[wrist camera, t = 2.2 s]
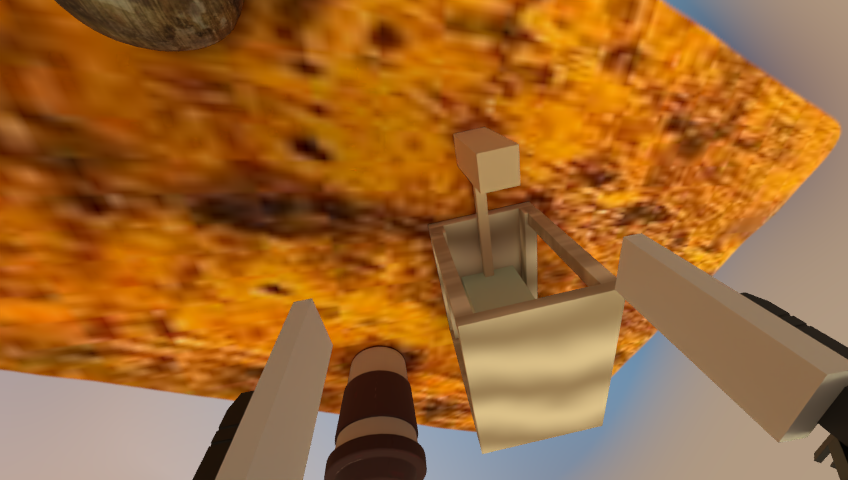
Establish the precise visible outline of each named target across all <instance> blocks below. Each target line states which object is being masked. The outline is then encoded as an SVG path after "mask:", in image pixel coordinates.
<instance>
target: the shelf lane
mask: <svg viewBox="0 0 848 480" xmlns="http://www.w3.org/2000/svg"><path fill="white" fill-rule="evenodd" d="M488 217H489V227H490V238H491V248H492V258H493V268H494V270H495V269H499V268H503V267H508V266H512V265H513V267H514V268H515V270H516V271H517V273H518V274H519V275H520V277H521V278H522V280H523V281H524V283H525V284H526V286H527V287H528V289H529V290H530V292H531V293H532V295H533V296H534V298H535V299H534V300H529V301H525V302H521V303H516V304H512V305H508V306H503V307H499V308H495V309H491V310H486V311H482V312H478V313H473V312H472V309H471V307H470V304H469V301H468V299H467V296H466V293H465V291H464V288H463V283H462V277H464V276H469V275H473V274H477V273H482V272H483V266H482V257H481V249H480V241H479V232H478V224H477V215H476V214H472V215H468V216H463V217H459V218H455V219H450V220H446V221H442V222H437V223H433V224H429V225H428V228H429V233H430V238H431V242H432V247H433V252H434V256H435V261H436V266H437V271H438V275H439V280H440V285H441V289H442V294H443V299H444V304H445V308H446V313H447V318H448V322H449V327H450V332H451V336H452V339H453V343H454V347H455V351H456V355H457V359H458V362H459V366H460V370H461V374H462V378H463V382H464V385H465V389H466V393H467V397H468V401H469V405H470V408H471V412H472V416H473V420H474V424H475V428H476V431H477V435H478V439H479V443H480V447H481V450H482V454H484V453H488V452H493V451H496V450H501V449H506V448H510V447H514V446H518V445H522V444H527V443H530V442H535V441H539V440H544V439H548V438H552V437H556V436H560V435H565V434H569V433H573V432H577V431H582V430H586V429H590V428H594V427H598V426H602V424H603V418H604V413H605V408H606V402H607V397H608V391H609V386H610V380H611V375H612V369H613V364H614V358H615V353H616V347H617V342H618V336H619V330H620V325H621V319H622V314H623V308H624V303H625V299H624V298H623V297H622V296H621V295H620V294H619V293H618V292H617V291H616V290H615V285H616V279H617V278H616V277H615V276H614V275H613V274H612V273H610V272H609V271H608V270H607V269H606V268H605V267H604V266H602V265H601V264H600V263H599V262H598V261H597V260H596V259H594V258H593V257H592V256H591V255H590V254H589V253H588V252H586V251H585V250H584V249H583V248H582V247H581V246H580V245H578V244H577V243H576V242H575V241H574V240H573V239H571V238H570V237H569V236H568V235H567V234H566V233H565V232H563V231H562V230H561V229H560V228H559V227H558V226H557V225H555V224H554V223H553V222H552V221H551V220H550V219H549V218H547V217H546V216H545V215H544V214H543V213H542V212H541V211H539V210H538V209H537V208H536V207H535V206H534V205H532V204H531V203H530V202H524V203H520V204H516V205H511V206H507V207H503V208H498V209H494V210H489V211H488ZM537 234H538V235H539V236H540V237H541V238H542V239H543V240H544V241H545V242H546V243H547V244H548V245H549V246H550V247H551V248H552V249H553V250H554V251H555V252H556V253H557V255H558V256H559V257H560V258H561V259H562V260H563V261H564V262H565V263H566V264H567V265H568V266H569V267H570V268H571V269H572V270H573V271H574V272H575V273H576V274H577V275H578V276H579V277H580V278H581V279H582V280H583V281H584V282H585V283H586V285H587V286H588V287H585V288H581V289H577V290H572V291H568V292H564V293H559V294H555V295H551V296H547V297H542V298H538V299H537Z"/></svg>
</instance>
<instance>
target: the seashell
mask: <svg viewBox="0 0 848 480" xmlns="http://www.w3.org/2000/svg"><path fill="white" fill-rule="evenodd" d="M55 1H56V2H57V3H58V4H59V5H60V6H61V7H63V8H64V9H65V10H66V11H68V12H69V13H70V14H71V15H73V16H74V17H75V18H77V19H78V20H79V21H81V22H82V23H84V24H85V25H87V26H88V27H90V28H92V29H93V30H95V31H97V32H99V33H101V34H103V35H105V36H107V37H110V38H112V39H114V40H116V41H119V42H123V43H126V44H130V45H133V46H136V47H141V48H146V49H152V50H158V51H187V50H196V49H200V48H204V47H207V46H210V45H212V44H214V43H217V42H218V41H220V40H222V39H223V38H225V37H226V36H227V35H228V34H230V32H231V31H232V30H233V29H234V27H235V24H236V22H237V20H238V18H239V16H240V13H241V10H242V6H243V1H244V0H55Z"/></svg>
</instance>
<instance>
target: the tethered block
mask: <svg viewBox="0 0 848 480" xmlns="http://www.w3.org/2000/svg"><path fill="white" fill-rule="evenodd" d="M453 137H454V144H455V151H456V159H457V166H458V167H459V168H460V169H461V171H462V172H463V173H464V174H465V176H466V177H467V178H468V179H469V180H470V182H471V183H472V184H473V190H474V199H475V207H476V215H477V224H478V232H479V241H480V249H481V257H482V266H483V272H482V273H477V274H473V275H469V276H464V277H462V283H463V288H464V291H465V293H466V296H467V299H468V301H469V304H470V307H471V309H472V312H473V313H478V312H482V311H486V310H491V309H495V308H499V307H503V306H508V305H512V304H516V303H521V302H525V301H529V300H534V299H535V298H534V296H533V295H532V293H531V292H530V290H529V289H528V287H527V286H526V284H525V283H524V281H523V280H522V278H521V277H520V275H519V274H518V273H517V271H516V270H515V268H514V267H513V265H512V266H508V267H503V268H499V269H495V270H494V268H493V258H492V248H491V238H490V227H489V217H488V207H487V196H486V193H489V192H493V191H497V190H502V189H506V188H510V187H515V186H519V185H520V163H519V144H517V143H515V142H513V141H511V140H509V139H508V138H506V137H504V136H502V135H500V134H498V133H496V132H494V131H492V130H490V129H488V128H486V127H482V128H477V129H473V130H469V131H464V132H460V133H455V134H453Z"/></svg>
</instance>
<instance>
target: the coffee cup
mask: <svg viewBox="0 0 848 480" xmlns="http://www.w3.org/2000/svg"><path fill="white" fill-rule="evenodd" d="M417 438H418V429H417V422H416V416H415V410H414V404H413V398H412V392H411V387H410V384H409V382H408V377H407V371H406V364H405V360H404V358H403V356H402V355H401V354H400V353H399V352H397V351H396V350H394V349H391V348H388V347H372V348H368V349H366V350H364V351H362V352H360V353H359V354H358V355H357V356H356V357H355V358H354V360H353V361H352V364H351V369H350V374H349V379H348V384H347V386H346V388H345V391H344V395H343V400H342V405H341V410H340V415H339V421H338V426H337V431H336V436H335V445H336V448H335V450H334V451H333V452H332V453H331V454H330V456H329V457H328V460H327V463H326V469H325V476H324V480H423V479H424V477H425V475H426V470H427V468H426V457H425V452H424V450H423V448H422V447H421V445H419V443H418V442H417Z"/></svg>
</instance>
